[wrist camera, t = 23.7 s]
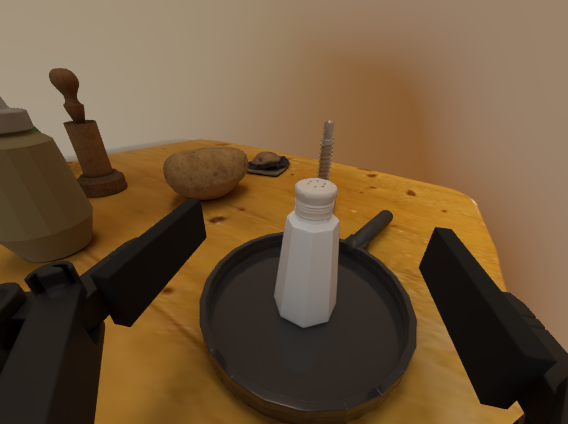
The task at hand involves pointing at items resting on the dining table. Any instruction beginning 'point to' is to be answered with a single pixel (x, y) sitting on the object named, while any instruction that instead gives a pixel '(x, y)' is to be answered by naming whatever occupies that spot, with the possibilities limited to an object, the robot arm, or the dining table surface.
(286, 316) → the salt shaker
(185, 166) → the potato
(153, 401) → the dining table surface
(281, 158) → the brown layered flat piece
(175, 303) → the dining table surface
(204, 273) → the dining table surface
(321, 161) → the screw
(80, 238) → the squeeze bottle
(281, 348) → the pan
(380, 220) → the pan handle
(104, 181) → the mortar and pestle
